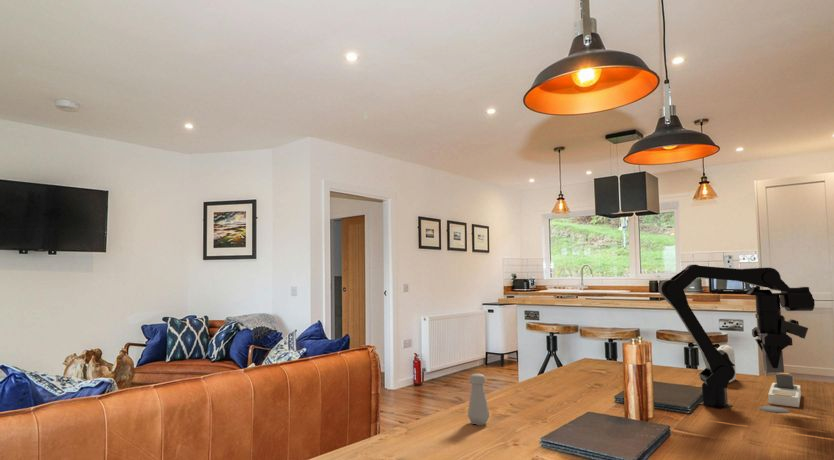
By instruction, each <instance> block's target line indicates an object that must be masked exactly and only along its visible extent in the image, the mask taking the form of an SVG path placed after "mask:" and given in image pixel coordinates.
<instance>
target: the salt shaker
mask: <svg viewBox="0 0 834 460" xmlns="http://www.w3.org/2000/svg"><path fill="white" fill-rule="evenodd" d="M468 378H469V383H470V384H471V387H470V388H471V389H470V394H469V403H468V411H467V416H468V418H469V421H470V423H471V424H477V425H481V426H484V425H483V424H485V425H486V424H487V423H488V420H489V418H490V411H489V406H488V400H487V396H486V392H485V386H484V384H485V383H486V376H485V375H484V374H482V373H472V374H470V375H469V377H468ZM486 422H487V423H486ZM477 425H476V426H477Z"/></svg>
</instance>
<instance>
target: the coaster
mask: <svg viewBox="0 0 834 460" xmlns="http://www.w3.org/2000/svg"><path fill="white" fill-rule="evenodd" d="M758 408H759V410H760V411H763V412H766V413H772V414H789V413H791V411H790V410H789V409H787V408H784V407H779V406H773V405H772V406H771V405H770V406H769V405H763V406H759V407H758Z"/></svg>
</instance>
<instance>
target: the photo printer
mask: <svg viewBox="0 0 834 460" xmlns="http://www.w3.org/2000/svg"><path fill="white" fill-rule="evenodd" d="M716 349H717V350H718V351H719V350H723V351H724V352H726V353H727V354H728V356H729V359H730V361H731V362H732V363H733V364H734V365H735V366H733V368H734V370H735V375H734V377H733V378H732V380H730V381H729V383H732V382H734V381H735V380H737V374H736V373H737V372H736V358H735V350H734V349H733V348H732V347H731V346H730V345H725V344H723V345H720V346H719V347H718V348H716ZM729 383H728V384H729Z"/></svg>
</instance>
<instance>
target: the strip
mask: <svg viewBox="0 0 834 460" xmlns="http://www.w3.org/2000/svg"><path fill="white" fill-rule="evenodd" d="M775 381H776V382H772V383H771V385H770V388H769V391H768V394H767V397H768V404H770V405H776V406H777V405H778V406H786V407H793V408H800V404H801V403H800V402H801V397H802V392H801V390H802V389H801V384H800V385H799V384H794V373H790V372H784V373H776V372H775Z"/></svg>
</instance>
